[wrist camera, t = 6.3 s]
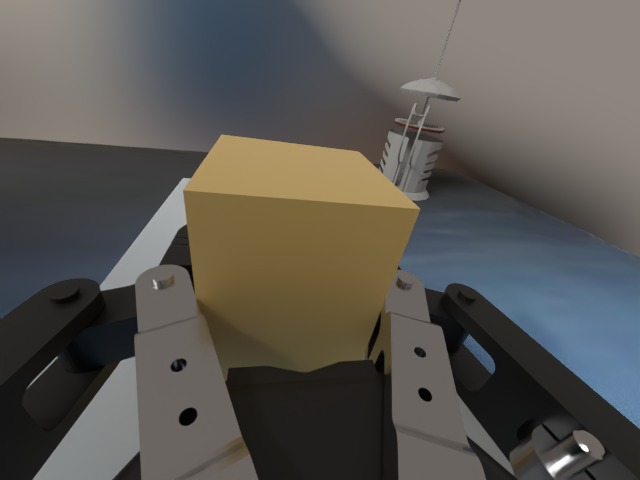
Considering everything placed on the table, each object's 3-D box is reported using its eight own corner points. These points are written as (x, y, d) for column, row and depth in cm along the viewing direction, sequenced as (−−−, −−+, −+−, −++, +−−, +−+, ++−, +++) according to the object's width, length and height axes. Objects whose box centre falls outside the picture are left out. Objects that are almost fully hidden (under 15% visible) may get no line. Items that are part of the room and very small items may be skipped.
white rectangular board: (-315, 888, 4) (-388, 917, 4) (184, 186, 31) (183, 178, 30) (583, 595, 9) (604, 590, 8) (347, 199, 35) (348, 192, 35)
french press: (431, 188, 46) (506, -2, 33) (425, 210, 36) (526, -43, 23) (376, 173, 49) (426, -8, 36) (357, 190, 39) (415, -47, 26)
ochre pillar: (212, 435, 10) (182, 190, 5) (228, 328, 14) (221, 134, 9) (337, 421, 11) (420, 209, 6) (319, 326, 15) (358, 151, 10)
